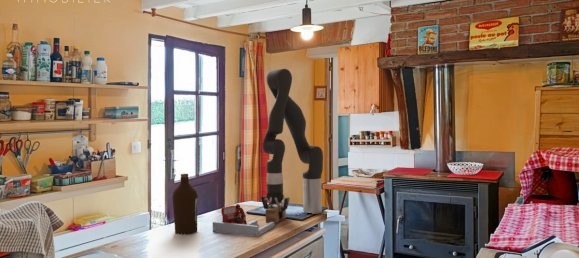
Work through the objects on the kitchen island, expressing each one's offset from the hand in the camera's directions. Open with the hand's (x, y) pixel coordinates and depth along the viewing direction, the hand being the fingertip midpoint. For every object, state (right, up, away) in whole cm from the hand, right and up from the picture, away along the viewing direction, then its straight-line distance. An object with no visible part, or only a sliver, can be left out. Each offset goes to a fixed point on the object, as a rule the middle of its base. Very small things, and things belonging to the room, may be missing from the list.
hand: (275, 218), depth 214 cm
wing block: (0, -1, 0) cm, 1 cm away
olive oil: (-38, -3, -15) cm, 41 cm away
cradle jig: (-13, -2, -12) cm, 18 cm away
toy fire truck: (-18, -3, -11) cm, 21 cm away
